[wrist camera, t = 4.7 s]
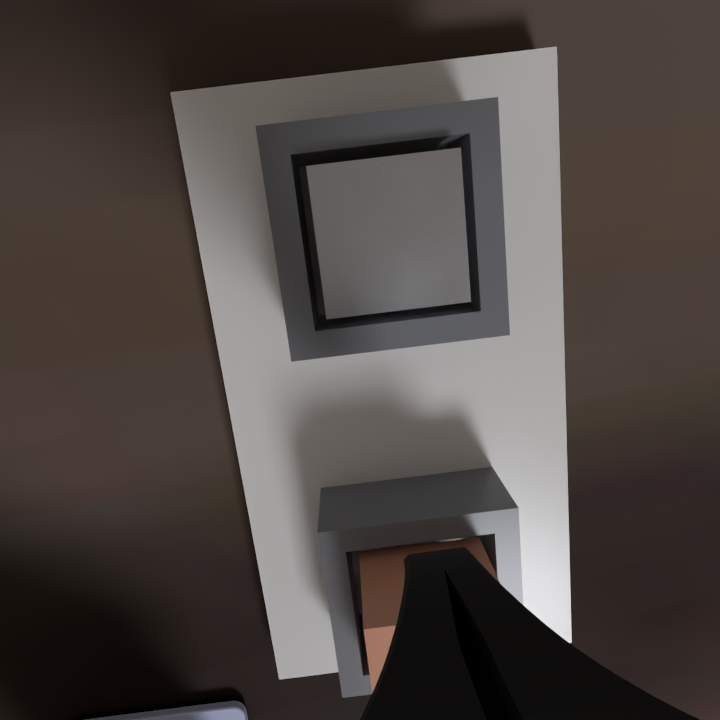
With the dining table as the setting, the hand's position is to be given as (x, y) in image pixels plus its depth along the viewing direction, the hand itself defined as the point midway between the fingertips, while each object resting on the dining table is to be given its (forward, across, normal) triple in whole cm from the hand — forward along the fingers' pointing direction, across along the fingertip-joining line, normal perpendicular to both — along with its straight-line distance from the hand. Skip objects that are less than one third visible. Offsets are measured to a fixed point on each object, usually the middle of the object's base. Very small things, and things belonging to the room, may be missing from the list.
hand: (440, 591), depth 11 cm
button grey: (+8, 0, -7) cm, 11 cm away
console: (+10, 0, -1) cm, 10 cm away
